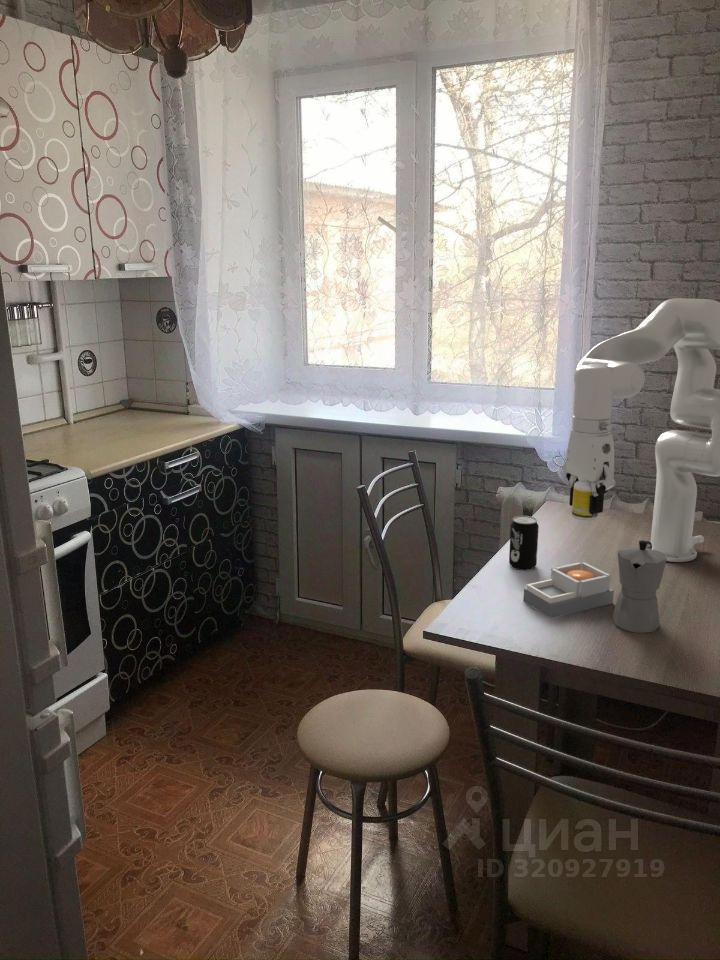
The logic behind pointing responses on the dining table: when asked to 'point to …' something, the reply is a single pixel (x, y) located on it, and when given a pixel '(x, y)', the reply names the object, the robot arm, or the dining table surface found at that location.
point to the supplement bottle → (582, 500)
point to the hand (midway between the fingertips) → (585, 508)
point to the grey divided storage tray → (569, 591)
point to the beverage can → (523, 542)
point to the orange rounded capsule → (580, 575)
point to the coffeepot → (639, 588)
